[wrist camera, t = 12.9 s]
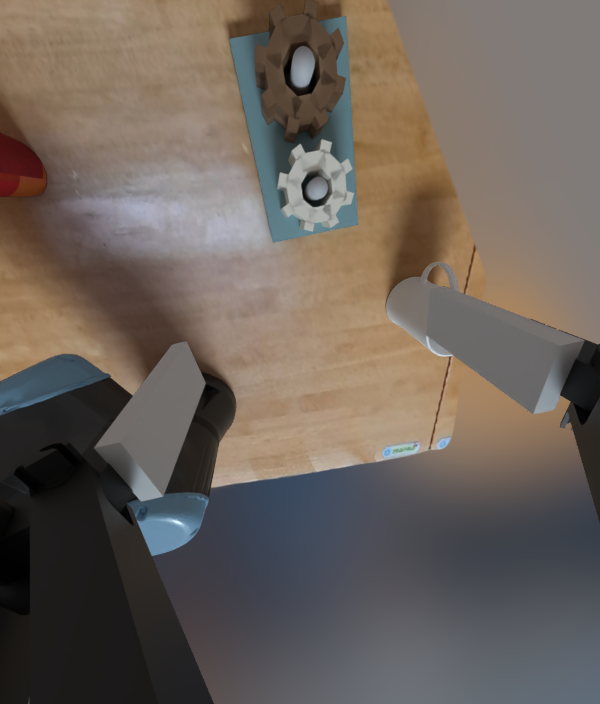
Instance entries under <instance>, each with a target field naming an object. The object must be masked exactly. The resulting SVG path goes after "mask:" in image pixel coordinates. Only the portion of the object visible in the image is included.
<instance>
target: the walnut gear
mask: <svg viewBox="0 0 600 704" xmlns="http://www.w3.org/2000/svg"><path fill="white" fill-rule="evenodd" d="M317 10H318V3H317V2H315V1H313V0H306V1H305V7H304V12H303V14H299V15H294V16H289V17H286V16H285V13H284V11H283V8H282V6H281V4H280V3H279V4H278V5H277V6H276V7H275V8H274V9H273V10H272V11H271V12H270V13H269V43H268V45H267V47H264V46H261V45H258V44H256V50H255V73H256V85H257V87H258V88H261V89H264V90H265V92H264V93H263V94H262V95H261V107H262V116H263V118H264V119H265V121H266V123H267V125H269V124H270V123H272V122H273V121H274V120H275V121H276V122H277V123H278V124H279V125H280V126H281V127H282V128H283V129H284V130H285V131H286V132H285V139H284V141H287V142H291V143H294V140H295V137H296V134H297V133H301V132H306V131H308V132H309V134H310V137H311V139H313V138H315V137H316V136H317V135H318V134H320V132H321V131H322V129H323V127H324V126H325V124H326V122H327V121H328V119H329V117H328V115H327V112H326V111H328V112H331V113H332V111H333V109H334V108H335V106H336V104H337V103H338V101H339V99H340V98H341V96H342V94H343V91H344V87H345V82H346V78H345V77H343V76H340V75H337V62H336V61H337V59H338V56H339V54H340V52H341V50H342V47H343V45H344V41H343V38H342V36H341V33H340V30H339V27H338V28H337V29H336V30H335V31H334V32H333V33H331V34H330V35H329V33H328V32H327V31H326V30H325V29H324V28H323V26H322V25H321V24H320V23H319V22H318V20H317V19H316V16H317ZM301 46H305V47H308V48H309V49H310V50H311V51H312V53H313V55H314V59H315V67H314V71H313V74H312V77H311V80H310V84H311V93H312V94H307V95H302V96H297V95H296V94H295V93H294V92H293V91H292V90H291V89H290V88H289V87H288V86H287V85H286V84H285V79H284V78H285V76H286V74H287V73H290V72H291V66H292V60H293V55H294V53H295V51H296V50H297V48H299V47H301Z"/></svg>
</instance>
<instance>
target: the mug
mask: <svg viewBox="0 0 600 704" xmlns="http://www.w3.org/2000/svg"><path fill="white" fill-rule="evenodd" d="M435 266H440V267H442V268H443V269H444V270H445V272H446V273H447V276H448V278H449V283H450V289H453V290H455V291H458V282H457V278H456V275H455V273H454V271H453V270H452V268H451V267H450V266H449V265H448V264H446V263H444V262H434V263H431V264H430V265H428V266H427V267H426V268H425V270H424V271H423V273H422V275H421V277H410V278H407V279H405V280H403V281H401V282H400V283H398V284H397V285H396V286H395V287H394V288H393V290H392V291H391V292H390V294H389V296H388V299H387V302H386V312H387V315H388V317H389V319H390V320H391V321H392V322H394V323H395V324H397V325H399V326H401V327H402V328H403V329H404V330H406V331H407V332H408V333H409V334H411V335H412V336H413V337H414V338H416V339H417V340H418V341H419V342H420V343H422V344H423V345H424V346H425V347H427V348H428V349H429V350H430V351H432V352H433V353H435V354H436V355H439V356H453V355H452V354H451V353H450V352H448V351H447V350H446V349H444V348H443V347H441V346H440V345H439V344H437V343H436V342H435V341H433V340H432V339H431V338H429V337H428V336H427V335H426V333H427V320H428V308H429V296H430V289H433V288H438V287H441V286H438V285H436V284H433V283H431V282H430V281H429V280H427V277H428V274H429V272H430V271H431V269H432V268H433V267H435Z"/></svg>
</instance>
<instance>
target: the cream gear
mask: <svg viewBox="0 0 600 704" xmlns="http://www.w3.org/2000/svg"><path fill="white" fill-rule="evenodd" d="M331 144H332V142H329V141H326V140H323V139H322V140H321V141H320V143H319V144H318V145H317V147H316V148H315V150H314V151H313V152H308V153H305V152H304V150H303V148H302V146H301V144H299V145H298V146H297V147H296V148H294V149H293V150H292V151H291V154H290V157H289V159H288V161H289V163H290V165H291V167H292V169H291V171H290V173H289V174H284V173H281V172H280V174H279V178H278V184H277V189H278V190H282V191H284V195H285V201H286V206H284V207H283V208H282V209H281V211H282V213H283V214H284V216H285V217H289V216H290V215H292V214H293V215H294V216H295V217H296V218H298V219H299V220H300V226H299V228H300V229H304V230H308V231H312V232H313V228H314V224H315V223H319V222H321V224H322V226H323V227H329V228H332V227H333V226H334V225H336V224H337V223H339V221H338V219H337V217H336V213H337V212H338V210H339V209H340V207H341V206H343V205H349V204H351V203H352V199H353V195H354V193H352V192H348V191H347V190H346V176H345V174H347V173H348V172H349V171H351V170H352V167H351V164H350V162H349V159H346V160H345V161H344V162H342V163H341V164H340V163H339V162H338V161H337V160H336V159H335V158H334V157H333V156H332V155H331V154H330V149H331ZM311 176H314V177H322V178H324V179H325V180H326V182H327V185H328V190H327V193H326V195H325V196H324V197H323V199H322V200H321V202H320V204H319V205H318V207H314V208H313V207H312V206H311V205H309V204H308V203H307V202H306V201H304V200H303V195H302V189H301V183H302V182H303V180H304V178H306V177H311Z"/></svg>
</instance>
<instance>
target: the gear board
mask: <svg viewBox="0 0 600 704" xmlns="http://www.w3.org/2000/svg"><path fill="white" fill-rule="evenodd" d="M318 22H319V23H320V24H321V25H322V26H323V28H324V29H325V30H326V31H327V32H328V33H329V35H330V34H331V33H333V32H334V31H335V30H336V29H337V28H338V27H339V30H340V33H341V36H342V38H343V41H344V45H343V47H342V50H341V52H340V54H339V56H338V59H337V61H336V62H337V75H340V76H343V77H345V78H346V82H345V87H344V91H343V94H342V96H341V98H340V99H339V101H338V103H337V104H336V106H335V108H334V109H333V111H332V113H331V112H328V111H326V112H327V115H328V117H329V119H328V121H327V122H326V124H325V126H324V127H323V129H322V131H321V132H320V134H318V135H317V136H316V137H315V138H313V139H311V137H310V134H309V132H308V131H306V132H301V133H297V134H296V137H295V140H294V143H291V142H287V141H284V139H285V132H286V131H285V130H284V129H283V128H282V127H281V126H280V125H279V124H278V123H277V122H276V121H275V120H274V121H273V122H272V123H270V124H269V125H267V123H266V121H265V119H264V118H263V116H262V107H261V95H262V94H263V93H264V92H265V90H264V89H261V88H258V87H257V85H256V73H255V50H256V44H258V45H261V46H264V47H267V45H268V43H269V31H267V32H262V33H257V34H252V35H247V36H242V37H237V38H232V39H229V40H230V45H231V50H232V54H233V59H234V64H235V68H236V73H237V77H238V82H239V87H240V91H241V96H242V101H243V105H244V110H245V114H246V119H247V124H248V128H249V133H250V138H251V142H252V147H253V152H254V156H255V161H256V165H257V170H258V175H259V179H260V184H261V189H262V193H263V198H264V203H265V207H266V212H267V216H268V221H269V226H270V230H271V235H272V240H273V242H278V241H283V240H287V239H292V238H297V237H302V236H306V235H311V234H316V233H321V232H325V231H330V230H335V229H340V228H345V227H349V226H354V225H358V217H357V199H356V182H355V164H354V146H353V129H352V111H351V94H350V76H349V58H348V41H347V23H346V16H343V17H338V18H333V19H328V20H323V21H318ZM314 67H315V59H314V55H313V53H312V51H311V50H310V49H309V48H308V47H305V46H301V47H299V48H297V50H296V51H295V53H294V55H293V60H292V66H291V72H290V73H287V74H286V76H285V78H284V79H285V84H286V85H287V86H288V87H289V88H290V89H291V90H292V91H293V92H294V93H295V94H296V95H297V96H302V95H307V94H312V93H311V84H310V80H311V77H312V74H313V71H314ZM322 139H323V140H326V141H329V142H332V144H331V149H330V154H331V155H332V156H333V157H334V158H335V159H336V160H337V161H338V162H339V163H340V164H341V163H342V162H344V161H345V160H346V159H349V162H350V164H351V167H352V170H351V171H349V172H348V173H347V174H345V176H346V190H347V191H348V192H352V193H354V195H353V199H352V203H351V204H349V205H343V206H341V207H340V209H339V210H338V212H337V213H336V217H337V219H338V221H339V223H337V224H336V225H334V226H333V227H332V228H329V227H323V226H322V224H321V222H319V223H315V224H314V228H313V232H312V231H308V230H304V229H300V228H299V226H300V220H299V219H298V218H296V217H295V216H294V215H293V214H292V215H290V216H289V217H285V216H284V214H283V213H282V211H281V209H282V208H283V207H284V206H286V201H285V195H284V191H282V190H278V189H277V184H278V178H279V174H280V172H281V173H284V174H289V173H290V171H291V169H292V167H291V165H290V163H289V161H288V159H289V157H290V154H291V151H292V150H293V149H294V148H296V147H297V146H298V145H299V144H301V146H302V148H303V150H304V152H305V153H308V152H313V151H314V150H315V148H316V147H317V145H318V144H319V143H320V141H321V140H322ZM301 189H302V195H303V200H304V201H306V202H307V203H308V204H309V205H311V206H312V207H313V208H314V207H318V205H319V204H320V202H321V200H322V199H323V197H324V196H325V195H326V193H327V190H328V185H327V182H326V180H325V179H324V178H322V177H314V176H311V177H306V178H304V180H303V182H302V183H301Z"/></svg>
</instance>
